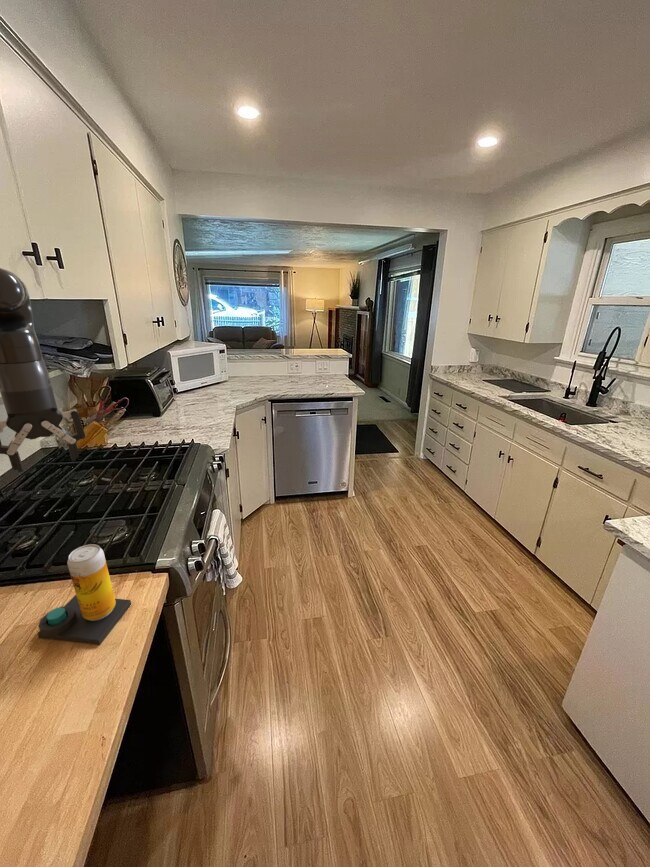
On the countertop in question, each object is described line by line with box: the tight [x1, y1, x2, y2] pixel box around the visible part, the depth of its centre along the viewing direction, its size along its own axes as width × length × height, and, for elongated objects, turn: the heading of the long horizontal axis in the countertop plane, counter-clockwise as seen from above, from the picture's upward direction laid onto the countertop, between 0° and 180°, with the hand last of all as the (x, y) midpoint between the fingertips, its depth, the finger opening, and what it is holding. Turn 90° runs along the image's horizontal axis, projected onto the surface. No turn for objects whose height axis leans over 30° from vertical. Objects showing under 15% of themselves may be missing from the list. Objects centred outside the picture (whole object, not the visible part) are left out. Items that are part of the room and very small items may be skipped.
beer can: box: [66, 543, 116, 621], centre depth 73 cm, size 6×6×15 cm
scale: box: [37, 594, 132, 646], centre depth 74 cm, size 13×10×3 cm
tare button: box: [47, 606, 67, 625], centre depth 72 cm, size 3×3×2 cm
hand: (48, 465), depth 71 cm, fingers open, 8 cm apart
